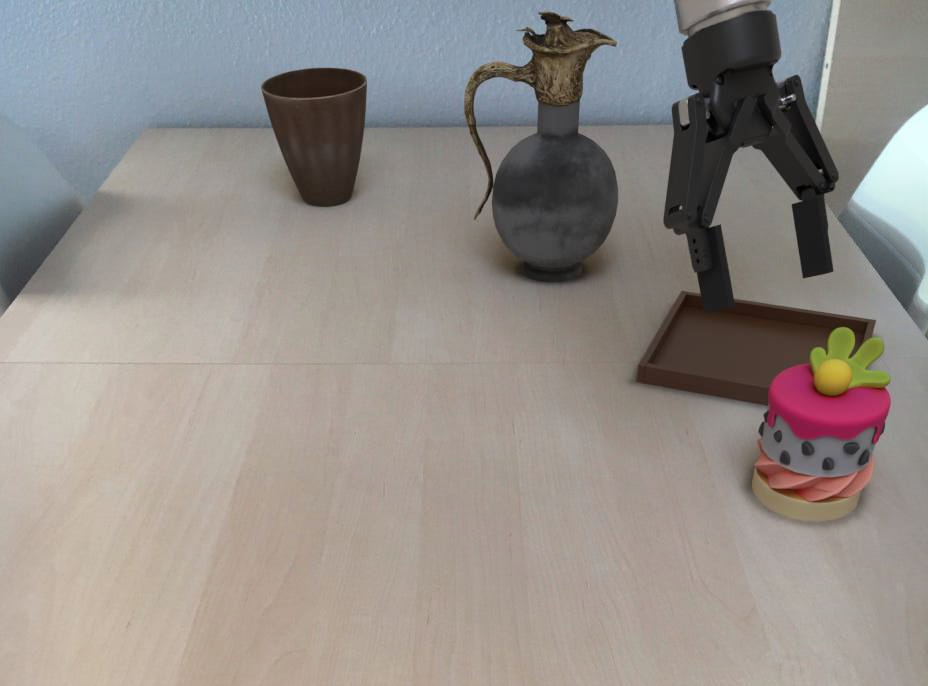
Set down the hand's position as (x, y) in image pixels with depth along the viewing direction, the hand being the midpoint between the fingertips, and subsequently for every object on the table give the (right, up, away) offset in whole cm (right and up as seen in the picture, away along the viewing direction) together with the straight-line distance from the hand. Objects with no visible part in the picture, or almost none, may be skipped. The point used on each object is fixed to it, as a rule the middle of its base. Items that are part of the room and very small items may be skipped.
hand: (770, 292), depth 89 cm
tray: (+7, +1, +27) cm, 27 cm away
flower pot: (-47, +37, +66) cm, 89 cm away
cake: (+6, -16, +8) cm, 19 cm away
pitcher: (-16, +18, +45) cm, 51 cm away
